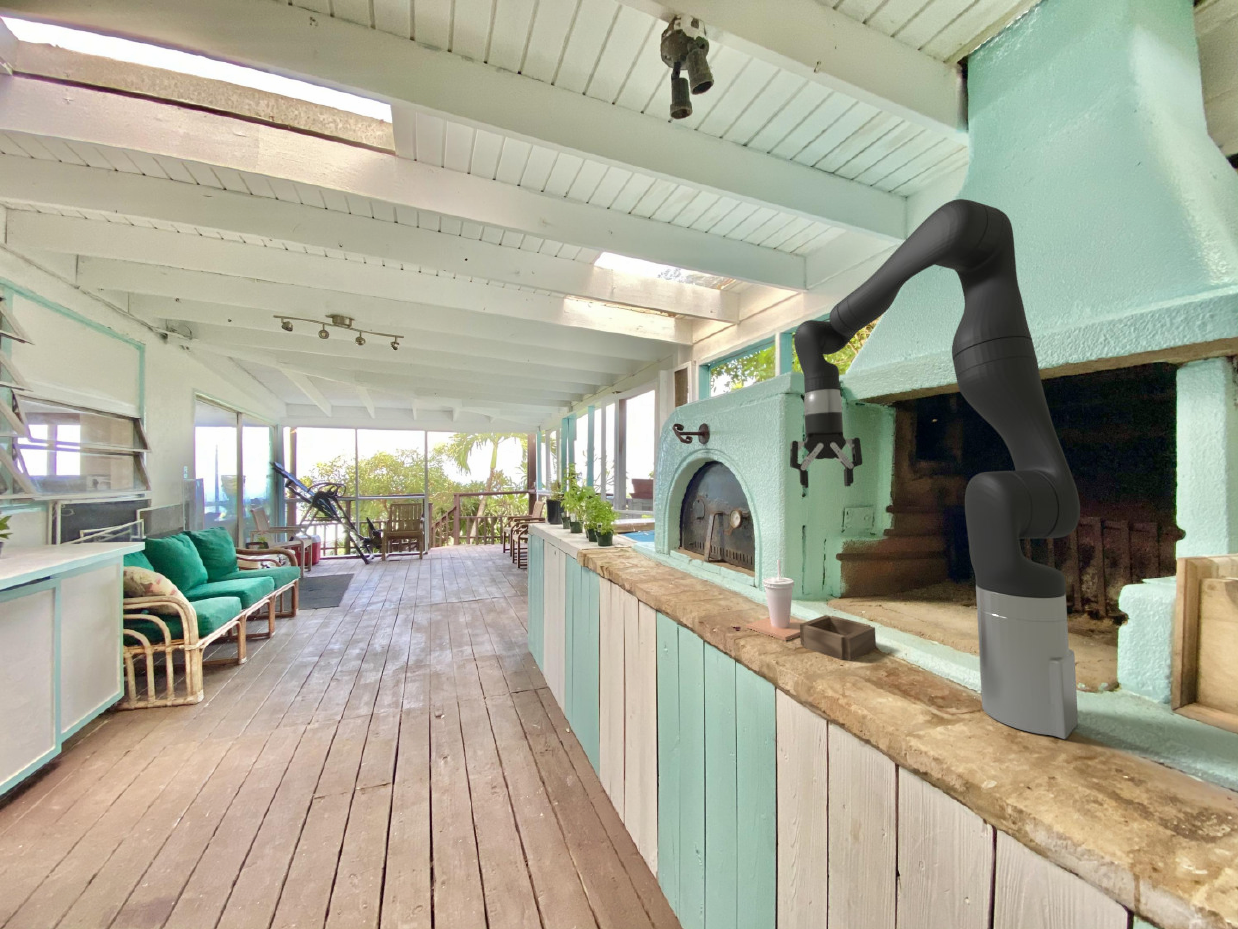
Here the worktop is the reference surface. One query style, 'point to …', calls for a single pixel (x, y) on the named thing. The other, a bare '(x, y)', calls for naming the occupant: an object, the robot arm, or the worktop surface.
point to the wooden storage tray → (838, 637)
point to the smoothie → (779, 599)
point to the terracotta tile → (776, 629)
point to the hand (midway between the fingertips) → (826, 487)
